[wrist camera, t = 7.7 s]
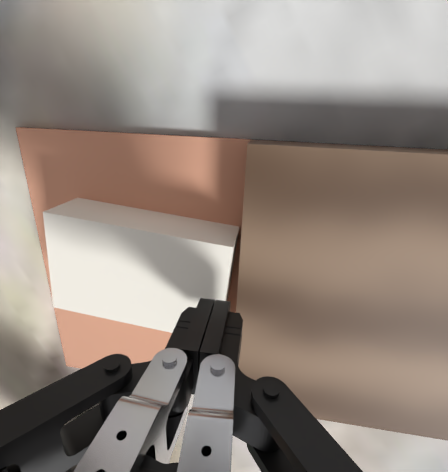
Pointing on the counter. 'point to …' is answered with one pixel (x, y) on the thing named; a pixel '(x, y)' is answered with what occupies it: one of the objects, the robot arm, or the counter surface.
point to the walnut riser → (348, 280)
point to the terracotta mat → (132, 195)
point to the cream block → (135, 262)
